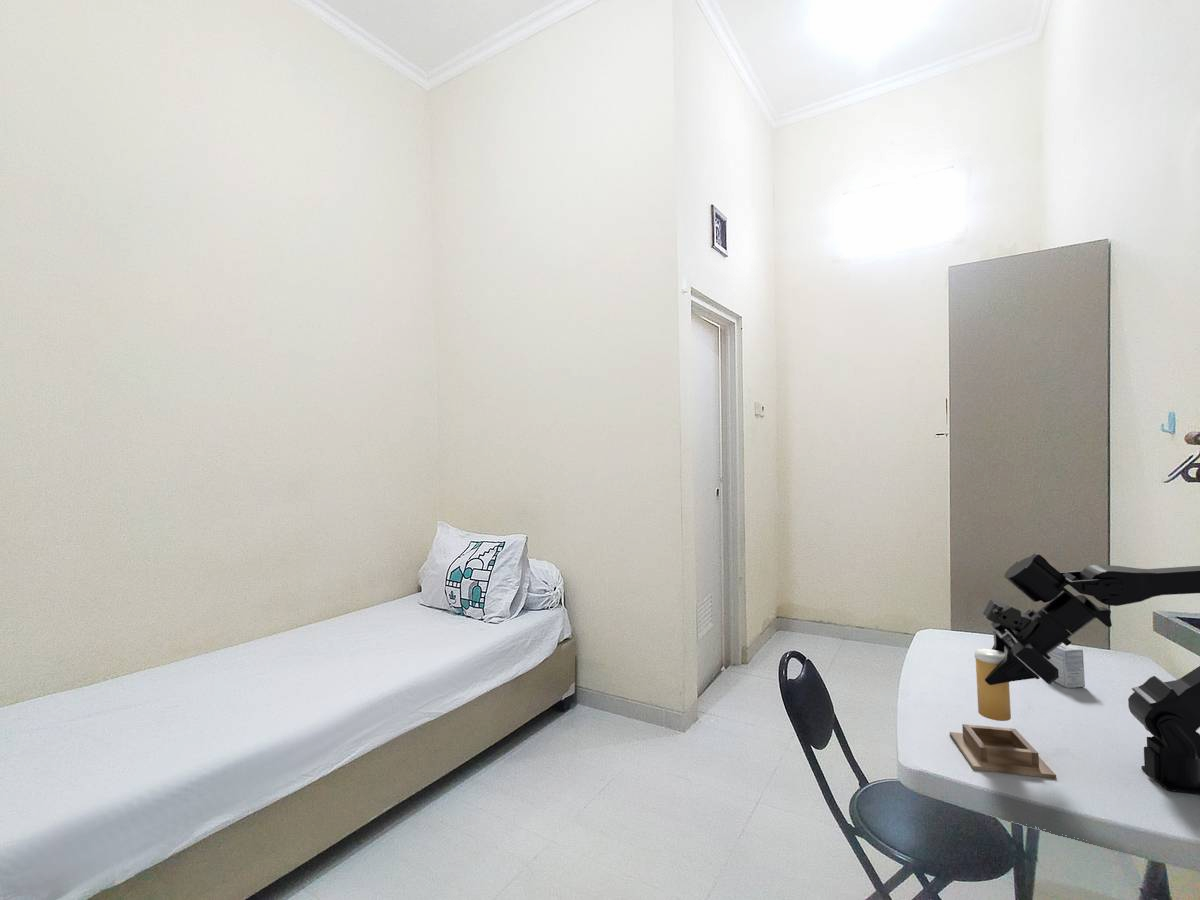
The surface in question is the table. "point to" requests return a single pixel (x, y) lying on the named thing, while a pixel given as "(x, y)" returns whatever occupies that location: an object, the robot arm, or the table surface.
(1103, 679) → the table surface
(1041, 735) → the table surface
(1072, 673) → the medicine box
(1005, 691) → the pill bottle
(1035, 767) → the bottle holder
